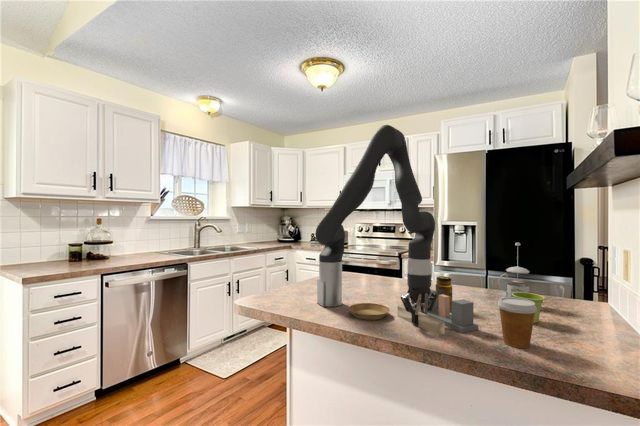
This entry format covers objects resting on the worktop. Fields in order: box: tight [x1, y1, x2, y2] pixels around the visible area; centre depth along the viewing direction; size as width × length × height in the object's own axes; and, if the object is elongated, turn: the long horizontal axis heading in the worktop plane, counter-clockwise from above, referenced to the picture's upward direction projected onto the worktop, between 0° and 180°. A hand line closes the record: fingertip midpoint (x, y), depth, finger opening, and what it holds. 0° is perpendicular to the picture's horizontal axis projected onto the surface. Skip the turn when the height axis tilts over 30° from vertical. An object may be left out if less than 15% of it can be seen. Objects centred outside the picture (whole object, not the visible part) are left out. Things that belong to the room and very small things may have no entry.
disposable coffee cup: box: [497, 296, 537, 349], centre depth 92 cm, size 10×10×12 cm
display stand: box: [418, 288, 479, 334], centre depth 111 cm, size 7×22×8 cm, turn 23°
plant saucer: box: [348, 302, 391, 321], centre depth 117 cm, size 15×15×3 cm
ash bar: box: [397, 304, 446, 337], centre depth 107 cm, size 2×20×4 cm, turn 23°
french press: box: [497, 242, 530, 298], centre depth 130 cm, size 10×12×25 cm
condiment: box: [435, 275, 453, 312], centre depth 125 cm, size 7×8×12 cm
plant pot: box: [512, 291, 546, 324], centre depth 111 cm, size 9×9×9 cm
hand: (419, 324), depth 107 cm, fingers closed on ash bar, 2 cm apart
